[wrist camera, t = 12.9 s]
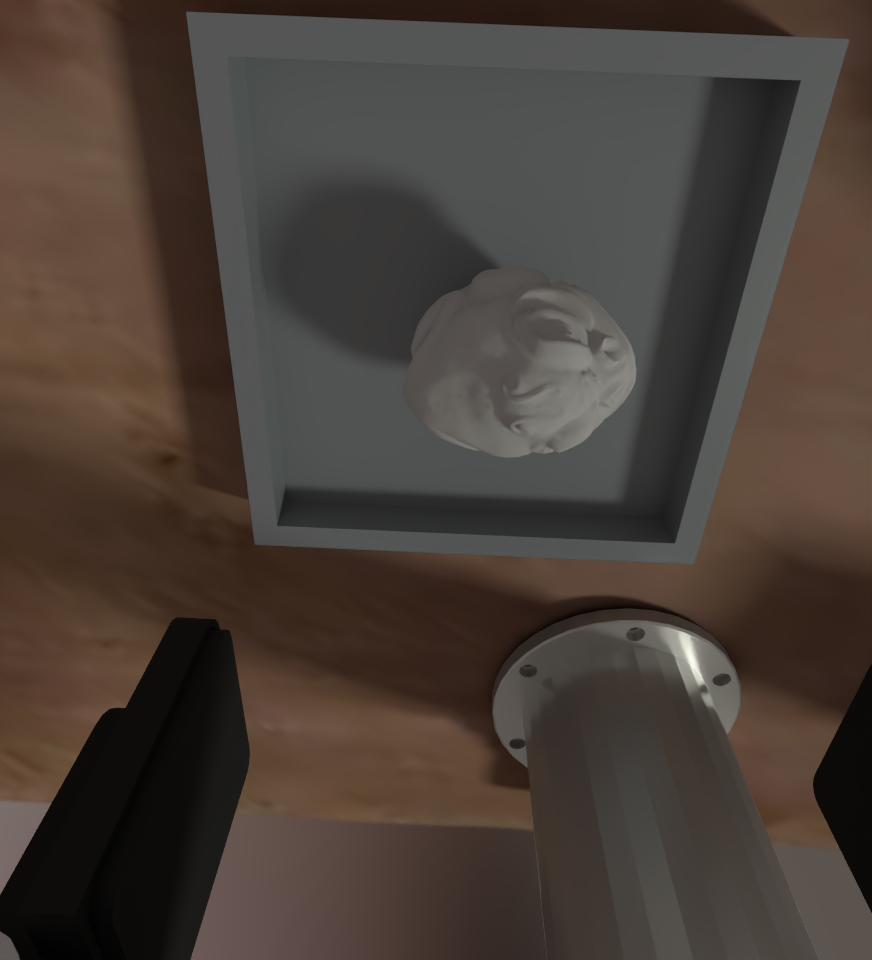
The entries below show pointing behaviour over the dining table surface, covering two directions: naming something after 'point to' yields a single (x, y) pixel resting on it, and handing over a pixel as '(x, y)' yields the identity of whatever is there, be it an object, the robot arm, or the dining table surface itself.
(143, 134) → the dining table surface
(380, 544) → the tray
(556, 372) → the frog figurine
